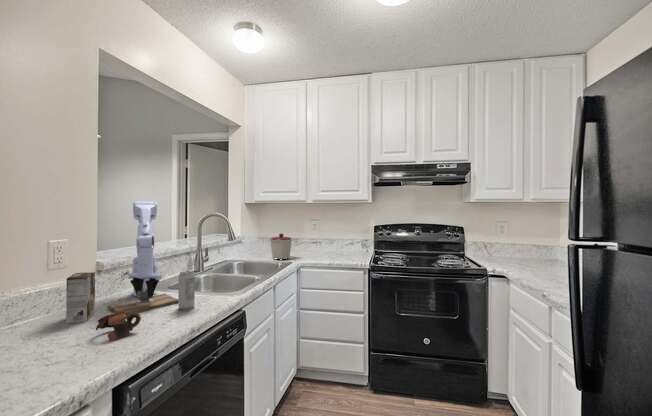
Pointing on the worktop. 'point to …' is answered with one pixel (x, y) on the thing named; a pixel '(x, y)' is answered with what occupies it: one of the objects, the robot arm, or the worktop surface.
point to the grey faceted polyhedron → (143, 294)
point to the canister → (281, 247)
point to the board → (143, 304)
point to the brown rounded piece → (119, 324)
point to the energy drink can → (186, 289)
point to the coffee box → (80, 297)
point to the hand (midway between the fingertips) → (144, 296)
